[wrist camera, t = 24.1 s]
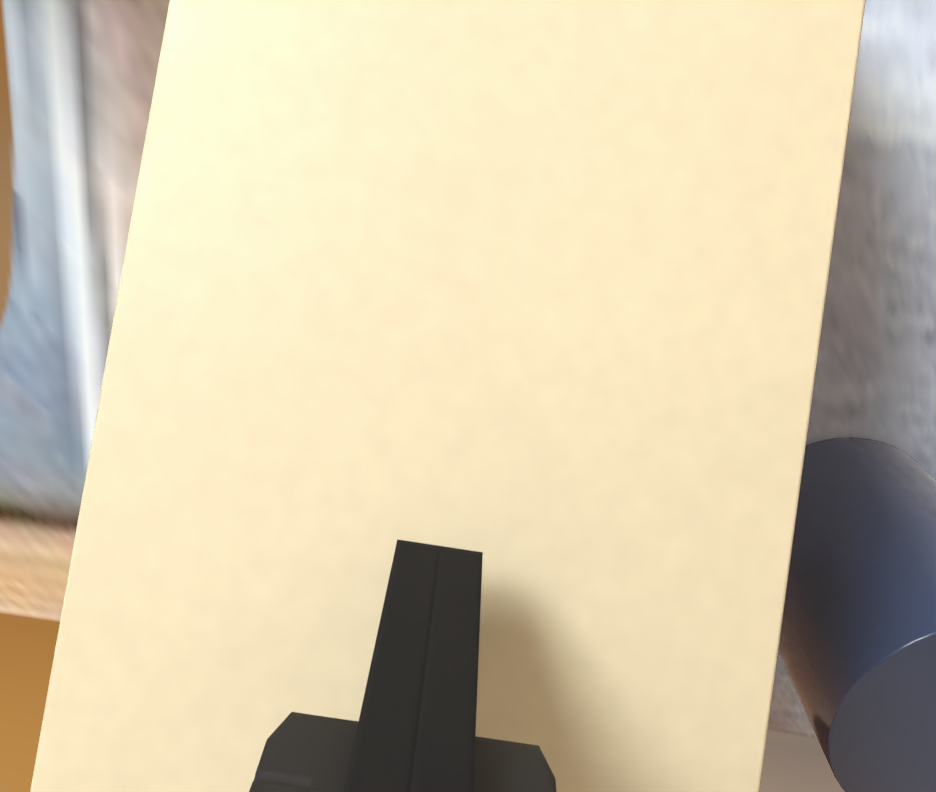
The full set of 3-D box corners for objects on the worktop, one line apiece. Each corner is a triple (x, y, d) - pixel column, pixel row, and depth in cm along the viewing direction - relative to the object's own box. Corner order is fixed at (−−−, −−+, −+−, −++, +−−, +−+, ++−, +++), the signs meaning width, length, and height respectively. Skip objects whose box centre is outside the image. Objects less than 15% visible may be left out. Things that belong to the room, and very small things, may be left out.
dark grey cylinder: (893, 618, 32) (1049, 848, 23) (708, 590, 32) (791, 811, 23) (969, 454, 29) (1186, 644, 20) (765, 422, 29) (888, 599, 20)
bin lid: (729, 885, 16) (745, 909, 15) (46, 788, 15) (25, 808, 15) (863, -97, 17) (883, -123, 16) (221, -208, 16) (210, -241, 16)
